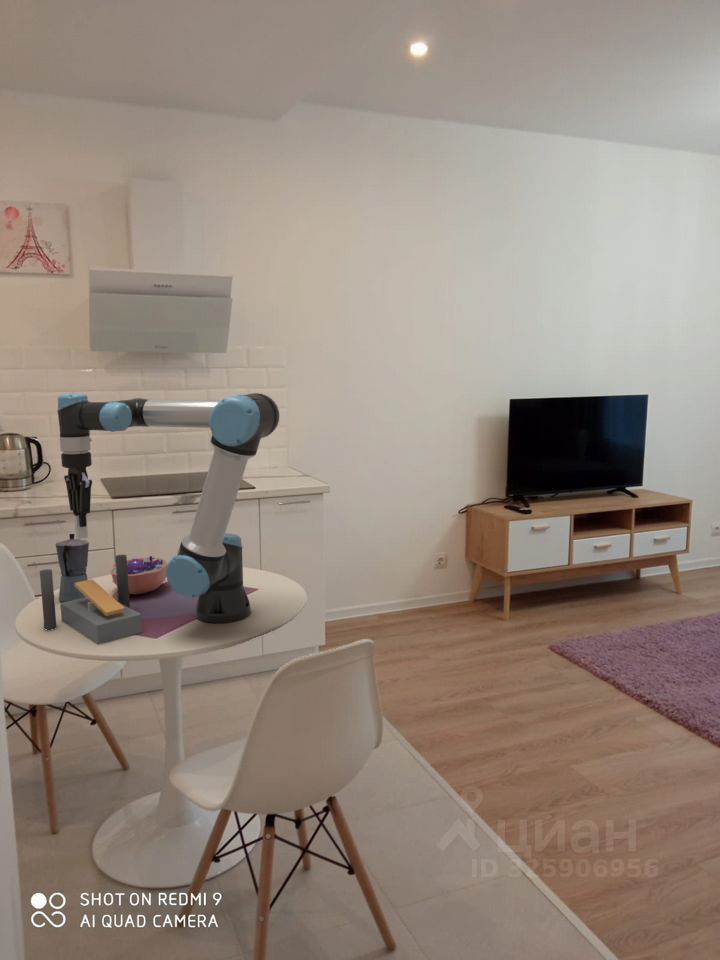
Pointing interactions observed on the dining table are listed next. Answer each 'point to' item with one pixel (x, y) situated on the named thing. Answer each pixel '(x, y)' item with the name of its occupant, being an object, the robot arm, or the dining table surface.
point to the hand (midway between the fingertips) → (81, 537)
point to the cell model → (143, 574)
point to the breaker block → (100, 621)
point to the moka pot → (72, 567)
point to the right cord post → (122, 580)
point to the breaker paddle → (99, 597)
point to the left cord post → (48, 599)
